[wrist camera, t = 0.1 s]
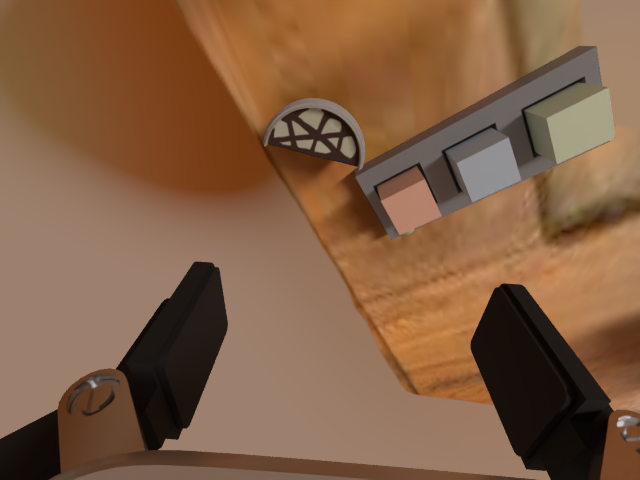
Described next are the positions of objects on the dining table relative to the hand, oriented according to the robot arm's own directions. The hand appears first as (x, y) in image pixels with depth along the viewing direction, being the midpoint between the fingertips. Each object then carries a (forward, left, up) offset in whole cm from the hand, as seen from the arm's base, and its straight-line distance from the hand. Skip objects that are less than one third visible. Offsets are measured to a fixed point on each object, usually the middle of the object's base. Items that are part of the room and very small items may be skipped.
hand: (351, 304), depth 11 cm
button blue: (+14, +12, -35) cm, 39 cm away
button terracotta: (+14, +2, -35) cm, 37 cm away
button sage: (+14, +22, -35) cm, 44 cm away
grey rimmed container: (-1, -3, -37) cm, 38 cm away
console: (+14, +12, -37) cm, 42 cm away
